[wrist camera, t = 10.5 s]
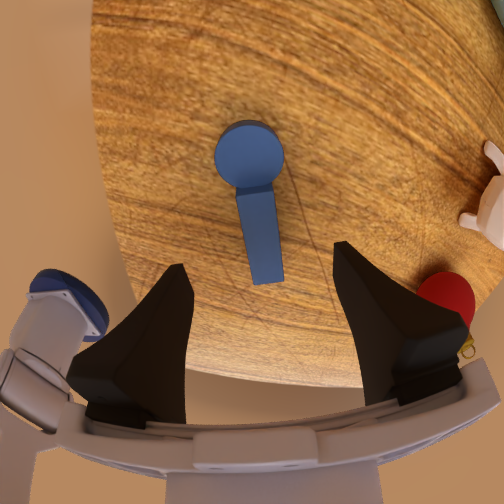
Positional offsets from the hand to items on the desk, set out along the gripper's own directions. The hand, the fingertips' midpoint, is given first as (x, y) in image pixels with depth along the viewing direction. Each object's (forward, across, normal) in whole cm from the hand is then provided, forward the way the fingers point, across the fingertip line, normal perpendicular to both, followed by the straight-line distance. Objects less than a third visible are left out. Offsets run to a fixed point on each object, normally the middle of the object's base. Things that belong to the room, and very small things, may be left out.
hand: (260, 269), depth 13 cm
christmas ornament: (+8, -17, +12) cm, 22 cm away
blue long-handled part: (+7, 0, 0) cm, 7 cm away
